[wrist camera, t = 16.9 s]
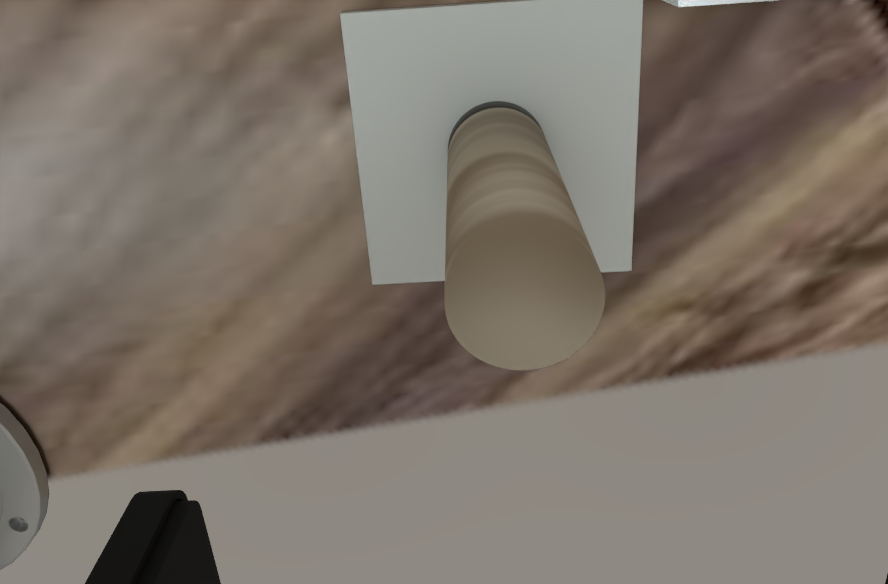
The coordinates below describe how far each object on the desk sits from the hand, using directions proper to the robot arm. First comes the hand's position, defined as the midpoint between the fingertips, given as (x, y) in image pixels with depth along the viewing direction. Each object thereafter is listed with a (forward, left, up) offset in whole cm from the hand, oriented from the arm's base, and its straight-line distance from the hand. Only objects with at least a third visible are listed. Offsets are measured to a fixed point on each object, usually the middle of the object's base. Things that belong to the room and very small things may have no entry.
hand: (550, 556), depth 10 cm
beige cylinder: (0, 0, -19) cm, 19 cm away
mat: (0, 0, -20) cm, 20 cm away
